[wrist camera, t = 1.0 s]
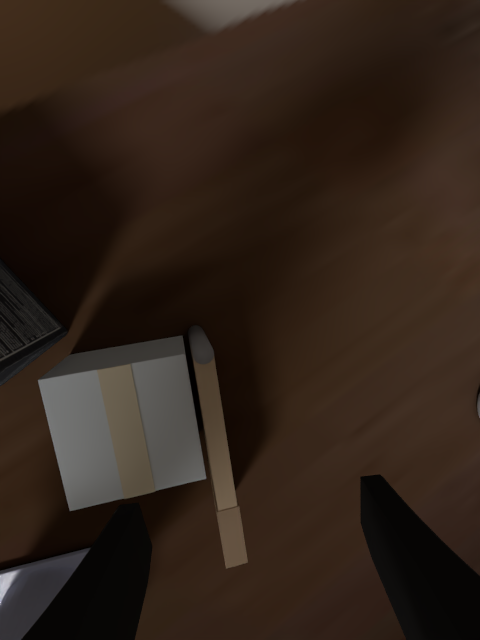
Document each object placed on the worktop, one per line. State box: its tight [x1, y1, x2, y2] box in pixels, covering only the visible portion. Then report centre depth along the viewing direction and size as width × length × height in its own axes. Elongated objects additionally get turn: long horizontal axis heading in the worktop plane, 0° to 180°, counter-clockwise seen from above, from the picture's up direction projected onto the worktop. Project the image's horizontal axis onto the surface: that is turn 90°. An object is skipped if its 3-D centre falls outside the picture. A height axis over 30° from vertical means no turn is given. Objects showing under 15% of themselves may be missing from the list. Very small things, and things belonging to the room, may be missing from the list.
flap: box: [188, 325, 248, 569], centre depth 24 cm, size 15×1×7 cm, turn 8°
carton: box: [38, 335, 206, 511], centre depth 23 cm, size 8×8×6 cm
